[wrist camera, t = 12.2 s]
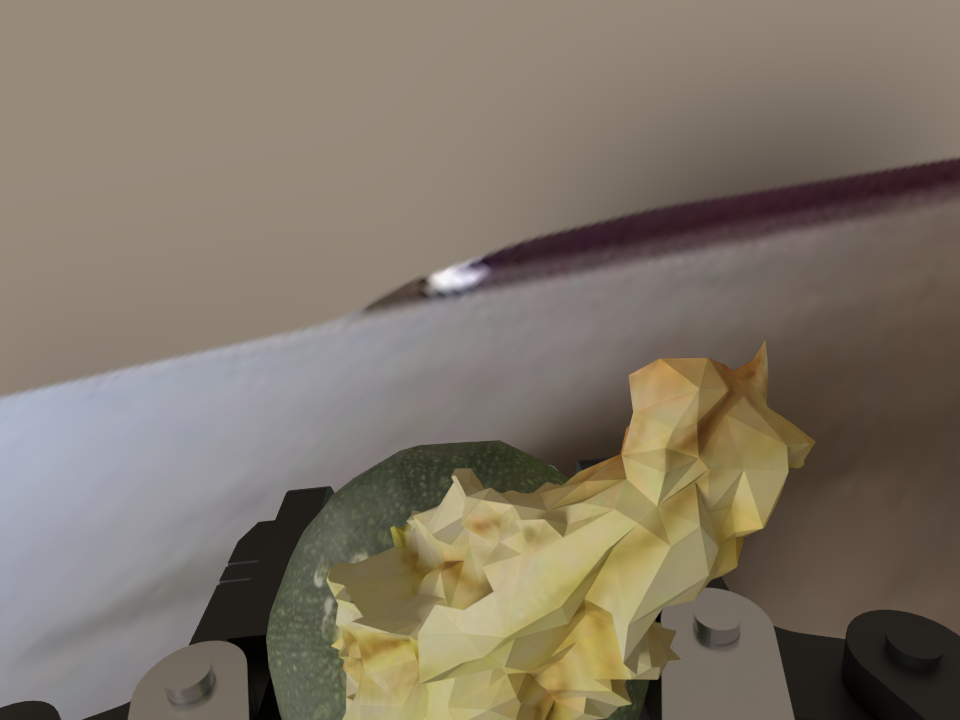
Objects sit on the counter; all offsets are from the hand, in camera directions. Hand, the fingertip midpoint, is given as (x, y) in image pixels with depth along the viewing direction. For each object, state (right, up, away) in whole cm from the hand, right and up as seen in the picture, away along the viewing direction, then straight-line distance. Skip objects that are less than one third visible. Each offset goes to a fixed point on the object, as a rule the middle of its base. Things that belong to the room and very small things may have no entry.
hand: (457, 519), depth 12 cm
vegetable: (0, -6, +9) cm, 11 cm away
